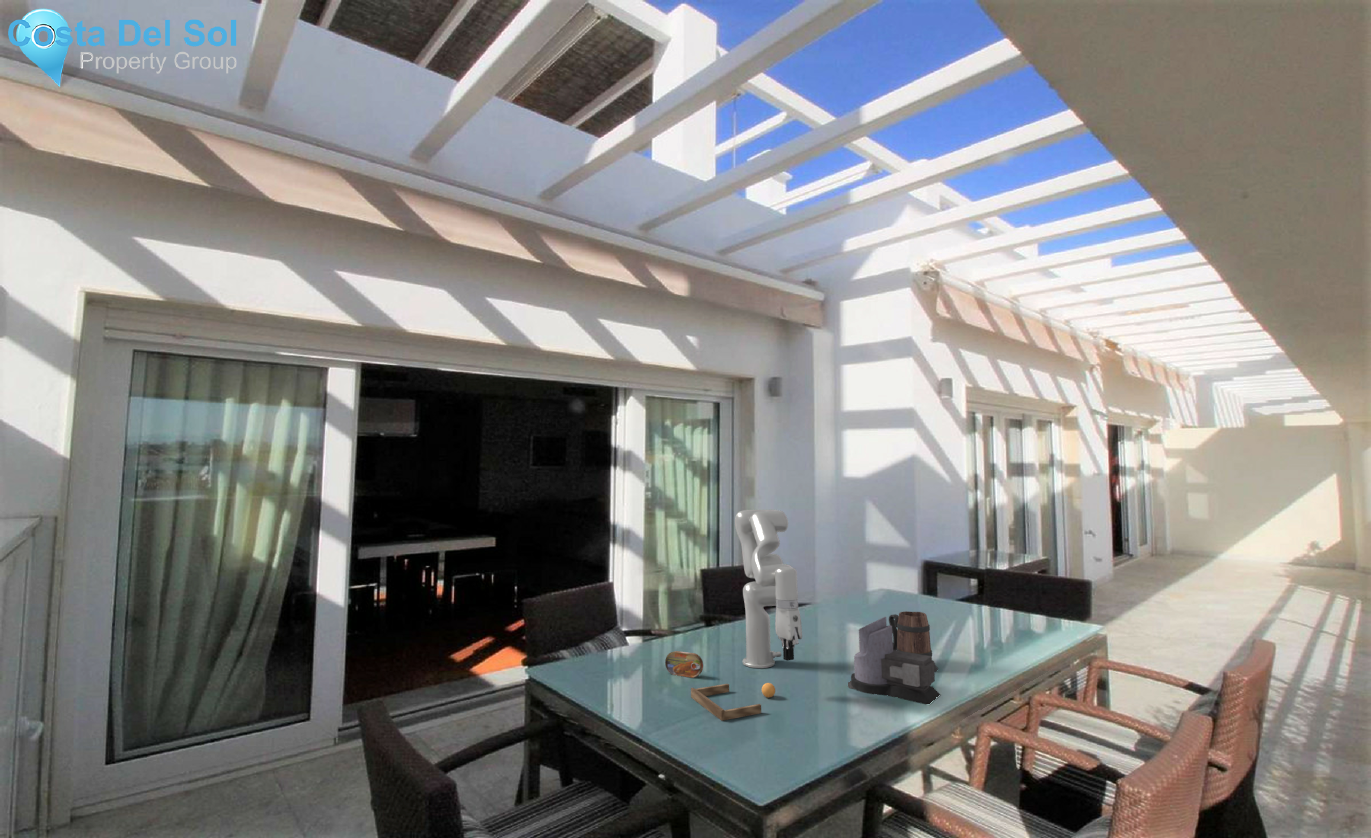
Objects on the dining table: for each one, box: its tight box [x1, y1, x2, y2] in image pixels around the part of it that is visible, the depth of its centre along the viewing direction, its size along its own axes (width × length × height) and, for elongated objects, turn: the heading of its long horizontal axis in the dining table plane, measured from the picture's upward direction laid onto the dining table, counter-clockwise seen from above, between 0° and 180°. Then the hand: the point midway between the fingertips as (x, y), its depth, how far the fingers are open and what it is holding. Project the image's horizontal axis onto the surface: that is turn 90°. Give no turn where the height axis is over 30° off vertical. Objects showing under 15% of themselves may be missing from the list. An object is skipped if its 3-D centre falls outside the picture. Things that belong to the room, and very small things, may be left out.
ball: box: [761, 682, 776, 698], centre depth 207 cm, size 4×4×4 cm
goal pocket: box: [690, 683, 762, 722], centre depth 200 cm, size 14×22×3 cm, turn 24°
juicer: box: [847, 616, 941, 705], centre depth 214 cm, size 30×16×24 cm, turn 50°
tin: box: [664, 650, 704, 679], centre depth 231 cm, size 15×3×8 cm, turn 62°
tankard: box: [888, 610, 939, 673], centre depth 242 cm, size 24×17×20 cm
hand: (788, 659), depth 211 cm, fingers closed
